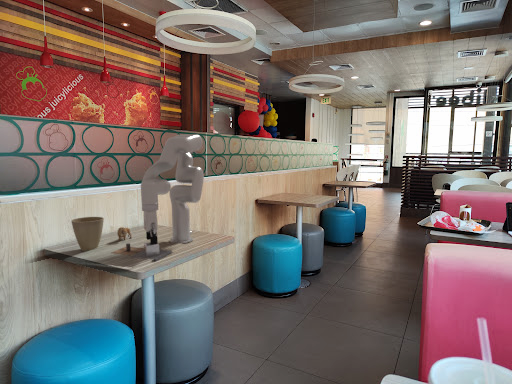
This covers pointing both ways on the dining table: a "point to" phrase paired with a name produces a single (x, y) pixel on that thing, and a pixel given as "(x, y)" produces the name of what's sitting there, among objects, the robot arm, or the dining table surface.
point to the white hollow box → (151, 249)
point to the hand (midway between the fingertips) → (152, 241)
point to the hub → (156, 257)
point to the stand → (128, 250)
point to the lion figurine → (123, 233)
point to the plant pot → (88, 231)
